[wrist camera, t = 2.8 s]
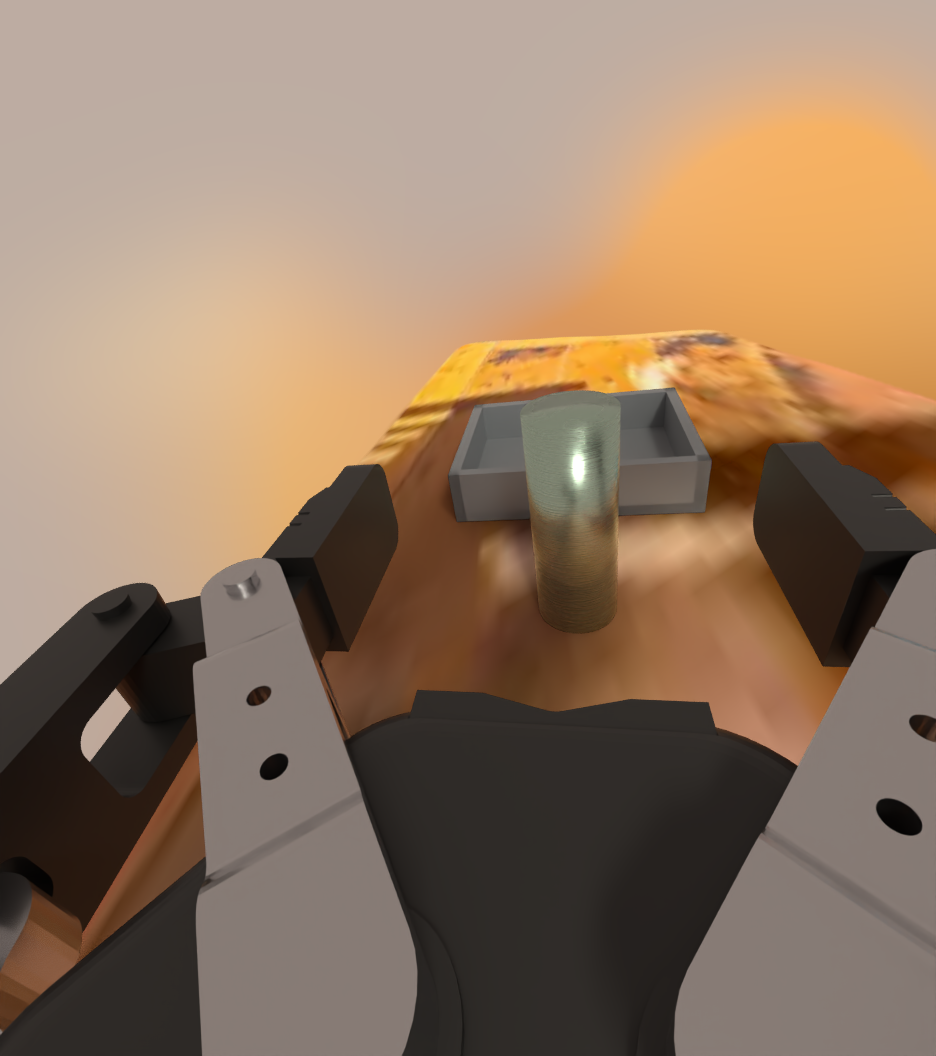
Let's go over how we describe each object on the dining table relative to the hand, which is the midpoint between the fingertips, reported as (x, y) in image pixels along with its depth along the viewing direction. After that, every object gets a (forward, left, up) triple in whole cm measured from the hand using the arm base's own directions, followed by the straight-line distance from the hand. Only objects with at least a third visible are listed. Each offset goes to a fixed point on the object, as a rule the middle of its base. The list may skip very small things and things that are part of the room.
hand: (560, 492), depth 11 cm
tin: (0, -12, -15) cm, 19 cm away
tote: (0, -28, -15) cm, 32 cm away
